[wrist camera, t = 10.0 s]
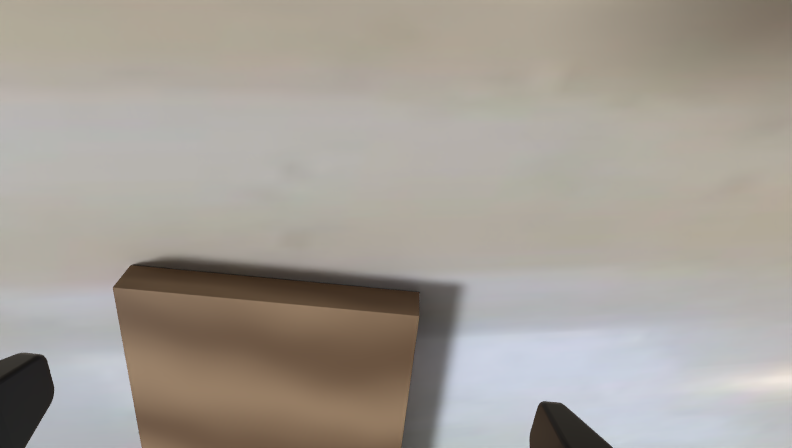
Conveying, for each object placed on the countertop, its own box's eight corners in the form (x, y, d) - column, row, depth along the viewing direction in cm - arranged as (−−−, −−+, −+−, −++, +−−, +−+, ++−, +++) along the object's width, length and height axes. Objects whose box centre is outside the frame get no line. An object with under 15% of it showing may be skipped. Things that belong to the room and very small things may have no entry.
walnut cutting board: (130, 265, 24) (112, 287, 22) (419, 292, 24) (419, 316, 23) (169, 509, 31) (158, 537, 30) (387, 528, 32) (386, 556, 30)
